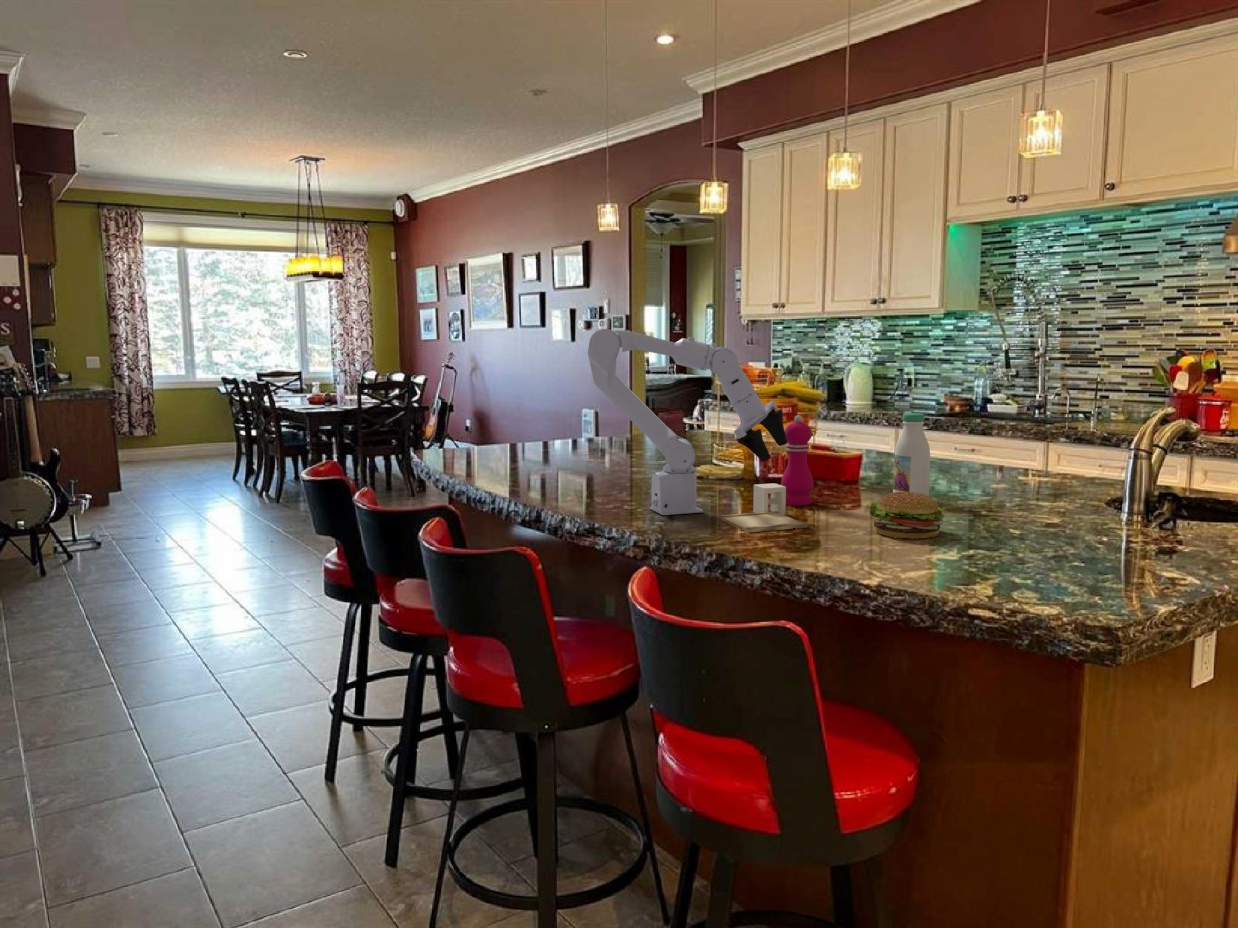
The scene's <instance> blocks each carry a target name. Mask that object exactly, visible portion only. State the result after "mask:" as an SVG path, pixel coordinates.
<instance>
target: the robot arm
mask: <svg viewBox="0 0 1238 928" xmlns="http://www.w3.org/2000/svg"><path fill="white" fill-rule="evenodd" d="M695 339H696V338H695V337H692V336H688V337H687V338H684V337H683V338H680V339H679V340H678V341H676V342H674V341H670V340H666V339H662V338H658V337H654V336H651V335H647V334H643V333H640V332H636V331H631V330H611V329H608V328H601V329H597V330H595V331H594V332H593V333H592V335H591V336H590V338H589V343H588V350H587V356H588V360H589V365H590V369H591V374H592V380H593V382H594V385H595V386H596V387H597V389H599V390H600V391H601V392H602V393H603V395H605V396H606V397H607V398H608V399H609V400H610V401H611V402H612V404H614V405H615V406H616V407H617V408H618V409H619V410H620V411H621V412H622V413H623V414H624V416H626V417H627V418H628V419H629V420H630V421H631V422H632V423H633V425H635V426H636V428H638V429H639V430H640V431H641V432H642V433H643V434H644V435H645V436H646V437H647V438H648V440H650V441H651V442H652V443H653V444H654V446H656V448H657V449H658V450H659V451H660V453H661V454H662V455H663V456H664V458H665V462H666V464H665V465H664V466H663V467H662V471H659V472H657V471H656V472H654V473H653V474H652V477H651V481H650V483H651V486H650V487H651V488H650V489H651V495H650V496H651V499H650V501H651V506H650V510H652V511H654V512H656V513H658V514H659V515H662V516H670V515H683V514H696V513H697V514H698V513H704V509H702V508H699V507H697V467H695V466H694V464H695V461H696V452H695V450H694V448H693V445H692V443H691V442H690V441H689V440H688V439H686V438H683V437H680V436H679V435H677V434H676V432H674V431H673V430H672V429H671V428H670V427H668V426H667V425H666V424H665V423H664V422H663V421H662V420H661V419H660V418H659V416H657V415H656V414H655V413H654V412H653V410H651V409H650V408H649V407H648V406H647V405H646V403H644V401H642V399H640V398H639V397H638V396H637V395H636V394H635V393H634V392H633V391H632V390H631V389H630V387H628V385H626V384H625V382H623V380H622V379H620V378H619V377H618V376H617V373H616V372H617V357H618V355H619V353H620V349H621V353H625V352H629V351H633V350H638V351H644V352H648V353H654V354H658V355H663V356H668V357H671V358H672V359H673V361H674V363H675V364H676V365H678V366H682V367H687V368H690V369H694V370H699V371H703V372H706V371H708V370H710V372H711V373H713V374H714V375H716V377H717V379H718V380H719V382H720V385H721V389H722V390H723V392H724V394H725V395H726V397H727V399H728V400H729V402H730V404H731V405H732V407H733V409H734V411H735V412H736V415H737V416H738V418H739V419H740V421H741V422H740V424H739V425H738V426H737V428H735V430H733V433H734V435H735V437H736V442H738V443H739V444H740V445H742V446H744V447H745V448H747V449H749V451H751V452H752V453H753V454H754V455H755V456H756V457H757V458H758V459H759V460H760V461H761V462H762V463H763V462H766V461H769V460H771V459H772V458H771V454H770V452H769V450H768V448H767V446H766V444H765V441H764V438H763V435H762V429H761V428H758V429H755V430H754V428H755V427H756V426H758V425H759V424H760V425H761V426H763V427H764V429H765V430H767V432H768V433H769V434H770V436H771V437H772V439H773V440H774V442H775V444H777V445H778V446H779V447H782V446H784V445H787V444H788V441H787V438H786V434H785V427H784V420H783V419H784V417H783V416H784V414H783V413H784V412H783V410H782V409H781V408H779V407H778V405H777V403H776V402H775V401H774V400H772V401H770V402H767V403H766V404H764V403H763V402H762V400H761V398H760V396H759V395H758V393H757V392H756V390H755V388H754V386H753V384H752V383H751V381H750V379H749V378H748V375H747V374H746V372H744V371H743V368H742V366H741V365H739V362H738V361H739V359H738V356H737V354H736V353H734V352H733V351H732V349H729V348H727V347H723V346H717V343H714V342H711V344H709V343H705V342H703V341H702V342H701V341H697V340H695ZM778 408H779V409H778Z"/></svg>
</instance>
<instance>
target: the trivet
mask: <svg viewBox="0 0 1238 928" xmlns="http://www.w3.org/2000/svg"><path fill="white" fill-rule="evenodd" d="M719 519H721V520H720V521H723V522H724V521H726V522H728V523H727V524H729V525H731V526H733V527H735V528H737V529H739V528H740V529H739V530H741V529H742V531H743V530H744V532H746V533H756V532H757V533H758V532H769V531H782V530H783V531H784V530H791V529H792V530H793V528H795V529H805V528H808V522H806V521H804V522H803V521H800V520H797V519H794V518H792V517H789V516H787V515H786V514H785V515H782V514H780V513H779V512H778V511H771V510H770V511H768V512H758V513H754V512H747V513H734V514H722V515H721V514H720V517H719ZM726 522H725V523H726Z"/></svg>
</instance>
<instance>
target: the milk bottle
mask: <svg viewBox="0 0 1238 928" xmlns="http://www.w3.org/2000/svg"><path fill="white" fill-rule="evenodd" d="M902 424H903V428H902V431H901V434H900V436H899V438H898V440H897V442H896V445H895V449H894V457H893V458H894V459H893V479H892V481H893V484H892V486H893V487H892V489H893V490H892V493H895V492H905V491H906V492H917V493H921V494H925V495H928V496H930V478H931V476H930V475H931V473H930V472H931V449H930V448H931V447H930V445H929V441H928V439H927V437H926V435H925V434H926V433H925V431H924V424H925V414H923V413H918V412H909V413H908V412H906V413H903V414H902Z"/></svg>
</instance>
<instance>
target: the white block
mask: <svg viewBox="0 0 1238 928" xmlns="http://www.w3.org/2000/svg"><path fill="white" fill-rule="evenodd" d="M769 493H770V497H769ZM785 500H786V487H785V486H782V485H781V484H778V483H760V484H759V483H758V484H753V510H752V511H753V512H752V513H754V512H755V513H758V512H769V505H770V512H771V511H778V512H779V513H780V514H782V515H785V516H786V504H785Z"/></svg>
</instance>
